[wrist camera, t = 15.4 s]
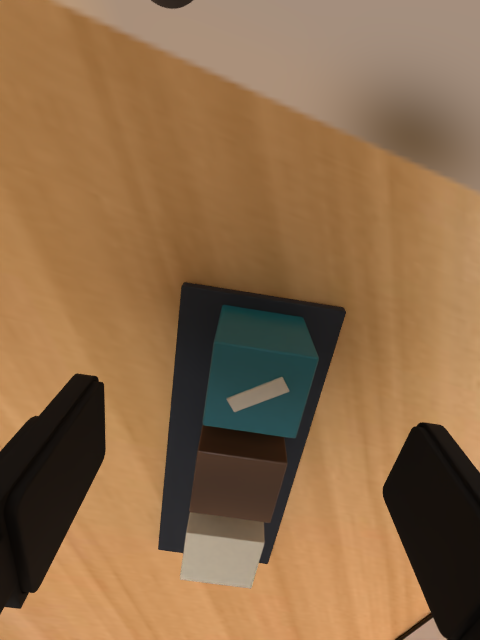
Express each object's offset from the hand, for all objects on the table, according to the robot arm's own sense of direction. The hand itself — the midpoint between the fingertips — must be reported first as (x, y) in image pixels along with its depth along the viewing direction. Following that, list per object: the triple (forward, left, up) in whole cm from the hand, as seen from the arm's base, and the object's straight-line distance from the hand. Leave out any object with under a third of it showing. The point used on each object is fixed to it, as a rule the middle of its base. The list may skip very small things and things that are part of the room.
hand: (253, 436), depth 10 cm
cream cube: (+11, 0, -7) cm, 13 cm away
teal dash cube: (+1, 0, -7) cm, 7 cm away
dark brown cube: (+6, 0, -7) cm, 9 cm away
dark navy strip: (+8, 0, -8) cm, 11 cm away
